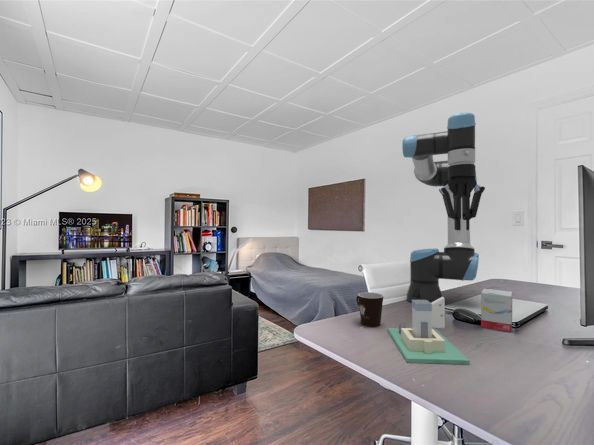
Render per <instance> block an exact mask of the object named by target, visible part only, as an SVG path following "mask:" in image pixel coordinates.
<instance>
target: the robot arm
mask: <svg viewBox="0 0 594 445" xmlns="http://www.w3.org/2000/svg"><path fill="white" fill-rule="evenodd" d="M446 129H447V131H440V132H433V133H432V132H431V133H423V134H415V135H410V136H409V135H408V136H405V137H404V138H403V139H402V143H401V144H402V155H403V157H404V158H410V159H412V163H413V165H414V169H413V173H414V174H413V175H414V177H415V179H416V180H418V181H419V182H420V183H422V184H424V185H427V186H430V187H435V188H436V187H441V188H439V189H438V192H439V193H440V194H441V195H442V200H443V203H444V207H445V210H446V215H447V244H446V245H445V246H444V248H443V251H440V250H439V249H438V248H423V249H416V250H413V251H412V252H410V257H409V258H410V259H409V262H410V263H409V264H410V268H409V269H410V276H409V277H410V284H409V286H408V290H407V293H406V300H407V302H409V303H412V300H427V301H429V302H430V303H432V302H434V301H435V300H437V299H439V298H441V297H444V296H443V294H442V290H441V287H440V284H439V281H440V279H442V280H453V281H455V280H456V281H469V282H470V281H474V280H475V279H476V278H477V273H478V270H479V268H478V267H479V260H480V258H479V256H480V254H479V252H478V253H477V252H475V248H474V247H473V246H472V245H471V230H470V229H471V224H470V223H471V222H470V220H471V219H474V218H476V217H477V214H478V209H479V205H480V202H481V198H482V195H483V193H484V191H485V190H486V187H485V186H482V185H479V184H478V183H477V182H478V180H477V179H478V178H477V172H476V171H477V170H476V164H475V163H476V117H475V114H474V113H472V112H460V113H456V114H453V115H451V116H449V117H448V119H447V127H446ZM437 155H447V160H440V161H438V160H437V161H434V156H437ZM473 190H474V191H473ZM472 191H473V192H474V193H473V195H472V199H471V193H472Z"/></svg>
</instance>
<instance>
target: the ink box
mask: <svg viewBox="0 0 594 445" xmlns="http://www.w3.org/2000/svg"><path fill="white" fill-rule="evenodd" d="M480 295H481V297H480V298H481V299H480V302H481V303H480V306H481V307H480V313H481V314H480V326H481V328H484V329H490V330H495V331H502V332H508V333H512V331H513V291H508V290H498V289H492V288H483V289H482V291H481V292H480Z"/></svg>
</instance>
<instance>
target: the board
mask: <svg viewBox="0 0 594 445" xmlns="http://www.w3.org/2000/svg"><path fill="white" fill-rule="evenodd" d="M387 332H388V333H389V335H390V337H391V338H392V340H393V342H394V343H395V345H396V347H397V348H398V350H399V352H400V354H401V355H402V357H403V358H404V360H405V361H406V363H409V364H410V363H413V364H416V363H417V364H438V365H439V364H440V365H441V364H442V365H470V359H469V358H467V357H466V356H465V354H464V353H462V352H461V351H460V350H459V349H458V348H457V347H456V346H454V345H453V344H452V342H451V341H449V340H448V339H447V338H446V337H445V336H444V335H443V334H441V332H440V331H439V330H437V328H432V338H414V337H413V336H412V327H407V325H406V324H403V323H402V324H398V327H388V328H387Z"/></svg>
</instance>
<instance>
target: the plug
mask: <svg viewBox="0 0 594 445" xmlns="http://www.w3.org/2000/svg"><path fill="white" fill-rule="evenodd" d="M411 310H412V311H411V321H412V322H411V324H412V325H411V328H412V336H413V337H414V338H432V329H433V328H432V304H431V303H430V302H429V301H427V300H412V302H411Z"/></svg>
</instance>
